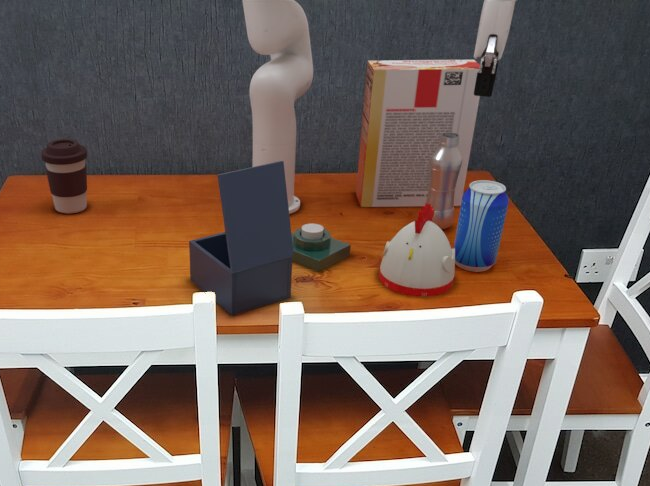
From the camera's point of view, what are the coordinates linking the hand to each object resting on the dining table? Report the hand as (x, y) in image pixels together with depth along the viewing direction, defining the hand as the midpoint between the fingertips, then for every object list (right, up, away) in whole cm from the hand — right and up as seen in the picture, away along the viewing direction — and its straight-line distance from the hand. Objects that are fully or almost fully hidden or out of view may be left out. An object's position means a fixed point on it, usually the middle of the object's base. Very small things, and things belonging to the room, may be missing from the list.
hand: (484, 88), depth 147 cm
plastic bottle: (-3, -22, +23) cm, 32 cm away
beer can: (+1, -32, +9) cm, 33 cm away
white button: (-31, -26, +10) cm, 42 cm away
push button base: (-31, -29, +12) cm, 44 cm away
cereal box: (-6, -13, +36) cm, 39 cm away
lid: (-43, -26, -13) cm, 52 cm away
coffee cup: (-84, -16, +33) cm, 91 cm away
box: (-46, -37, +1) cm, 59 cm away
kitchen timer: (-12, -35, +4) cm, 37 cm away
